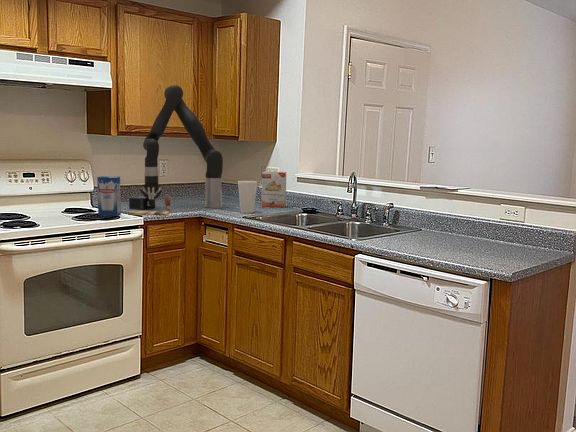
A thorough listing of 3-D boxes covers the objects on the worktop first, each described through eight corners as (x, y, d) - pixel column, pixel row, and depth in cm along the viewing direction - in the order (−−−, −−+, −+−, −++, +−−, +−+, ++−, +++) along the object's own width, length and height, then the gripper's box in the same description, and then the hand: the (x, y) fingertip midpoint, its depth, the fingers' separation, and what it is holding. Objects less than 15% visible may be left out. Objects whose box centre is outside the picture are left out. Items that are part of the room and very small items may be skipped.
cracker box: (261, 207, 359) (261, 171, 356) (262, 205, 365) (263, 171, 362) (284, 207, 357) (285, 172, 354) (285, 206, 363) (286, 171, 360)
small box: (143, 198, 336) (128, 197, 340) (143, 209, 337) (128, 208, 341) (155, 196, 345) (140, 195, 350) (155, 208, 346) (141, 207, 351)
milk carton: (121, 214, 317) (120, 176, 314) (117, 216, 310) (116, 177, 308) (102, 214, 317) (101, 176, 314) (98, 216, 311) (97, 177, 308)
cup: (249, 210, 343) (249, 180, 340) (260, 212, 335) (261, 181, 333) (233, 212, 335) (233, 181, 333) (244, 214, 328) (245, 182, 325)
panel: (169, 213, 326) (169, 211, 326) (166, 215, 317) (166, 213, 317) (132, 212, 326) (132, 210, 326) (128, 214, 317) (128, 212, 317)
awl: (170, 211, 332) (170, 195, 330) (169, 212, 329) (169, 196, 327) (165, 211, 332) (165, 195, 330) (164, 212, 329) (164, 195, 327)
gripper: (164, 174, 340) (165, 205, 342) (141, 174, 340) (141, 204, 342) (162, 175, 332) (162, 206, 335) (137, 175, 332) (138, 206, 335)
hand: (152, 205), depth 339 cm, fingers closed
